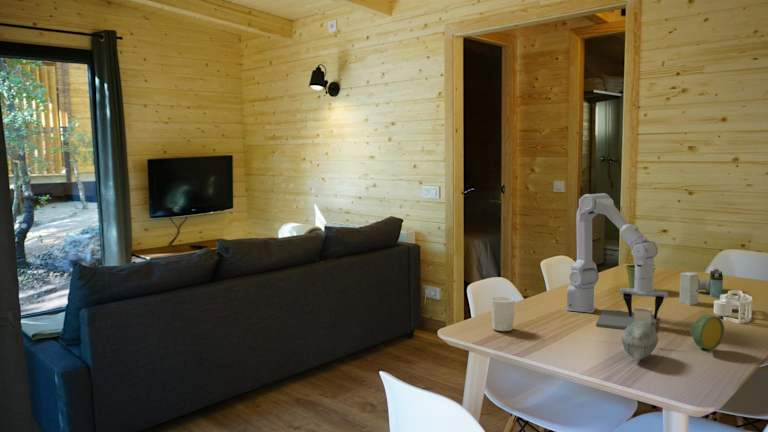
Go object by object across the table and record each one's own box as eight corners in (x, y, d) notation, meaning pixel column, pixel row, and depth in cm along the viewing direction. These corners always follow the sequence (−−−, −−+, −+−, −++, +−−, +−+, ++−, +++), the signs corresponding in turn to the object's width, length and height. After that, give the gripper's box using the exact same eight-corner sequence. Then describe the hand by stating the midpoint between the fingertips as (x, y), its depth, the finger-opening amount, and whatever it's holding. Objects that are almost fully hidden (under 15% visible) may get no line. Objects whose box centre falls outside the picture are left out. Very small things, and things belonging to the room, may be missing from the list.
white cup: (500, 333, 190) (500, 303, 189) (486, 327, 197) (486, 298, 196) (519, 329, 193) (519, 300, 192) (504, 323, 200) (504, 295, 199)
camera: (695, 289, 247) (696, 266, 246) (721, 291, 242) (722, 268, 241) (694, 297, 233) (695, 273, 232) (722, 300, 228) (723, 275, 227)
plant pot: (657, 291, 244) (657, 265, 243) (653, 297, 234) (653, 270, 233) (627, 288, 250) (627, 263, 249) (622, 294, 240) (622, 267, 239)
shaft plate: (596, 326, 195) (596, 314, 195) (603, 312, 213) (603, 301, 213) (654, 332, 187) (655, 320, 187) (657, 317, 205) (657, 305, 204)
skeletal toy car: (722, 307, 217) (722, 288, 216) (756, 312, 210) (757, 292, 209) (710, 319, 202) (711, 298, 201) (747, 324, 195) (748, 303, 194)
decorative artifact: (700, 352, 168) (701, 318, 167) (679, 345, 174) (680, 312, 173) (723, 347, 172) (724, 314, 171) (702, 340, 178) (703, 309, 177)
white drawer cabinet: (633, 324, 194) (634, 310, 193) (634, 320, 198) (635, 306, 198) (650, 325, 192) (651, 312, 191) (651, 321, 196) (651, 308, 196)
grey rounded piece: (625, 336, 176) (624, 309, 172) (660, 341, 171) (660, 313, 167) (618, 365, 165) (617, 337, 161) (655, 371, 161) (655, 342, 156)
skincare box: (689, 306, 219) (691, 275, 218) (678, 304, 222) (679, 273, 221) (698, 304, 222) (699, 273, 221) (687, 302, 226) (688, 271, 225)
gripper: (619, 277, 193) (618, 317, 195) (667, 281, 187) (666, 322, 188) (621, 274, 200) (620, 312, 201) (668, 277, 193) (666, 317, 194)
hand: (642, 317), depth 195 cm, fingers open, 7 cm apart
